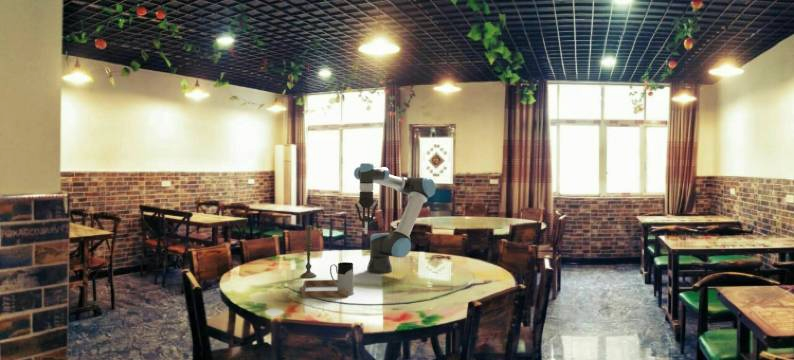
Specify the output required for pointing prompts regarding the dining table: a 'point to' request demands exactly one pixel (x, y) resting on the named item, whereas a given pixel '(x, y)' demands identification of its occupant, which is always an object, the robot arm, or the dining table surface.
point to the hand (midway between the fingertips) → (365, 233)
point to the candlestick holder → (308, 256)
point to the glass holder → (344, 277)
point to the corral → (321, 293)
